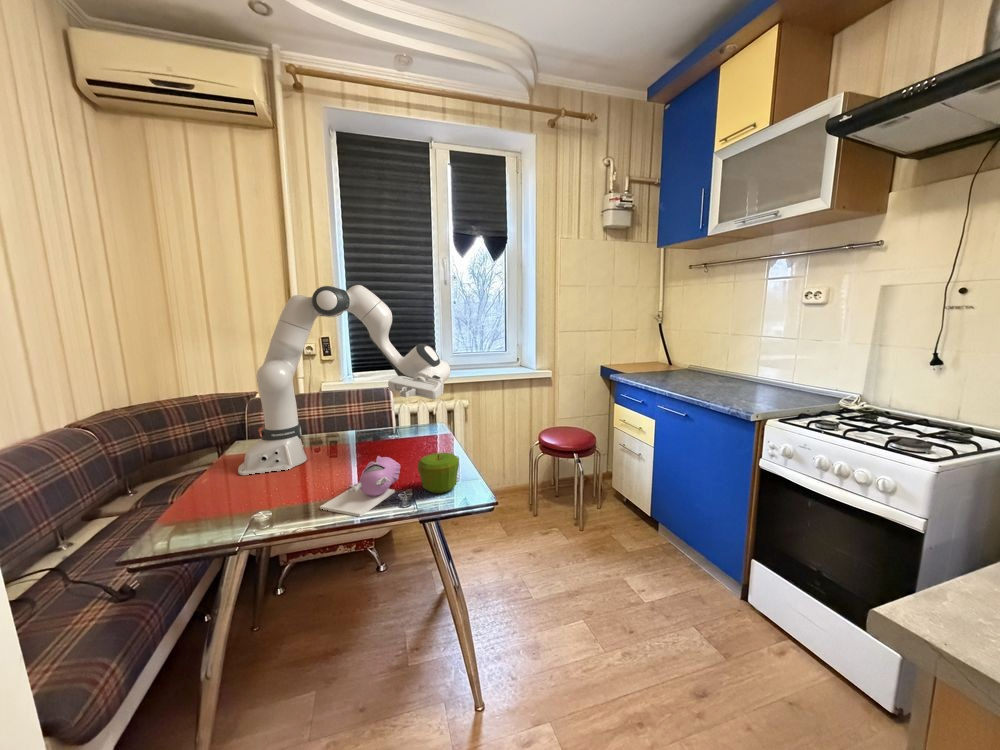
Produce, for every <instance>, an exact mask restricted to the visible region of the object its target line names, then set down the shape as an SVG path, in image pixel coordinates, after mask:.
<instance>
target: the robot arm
mask: <svg viewBox="0 0 1000 750" xmlns="http://www.w3.org/2000/svg"><path fill="white" fill-rule="evenodd" d="M344 312H349V313H351V314H352V315H354V316H355V317H356V318H357V319H359V321H360V322H362V324H363V325H364V326H365V328H366V329H367V331H368V333H369V334H368V335H369V337H368V338H369V340H371V343H372V344H373V345H374V346H375V348H376V349H377V350H378V352H379V353H380V354H381V355H382V356H383V357H384V358H385V360H386V361H387V362H388V363H389V365H390V366H391V367H392V369H393V370H394V372H395V373H396V375H397V376H394V377H393V378H390V379H388V382H387V383H388V385H387V386H388V389H389V390H390V391H394V392H398V394H399V397H401V398H409V397H414V396H416V397H421V398H423V399H424V398H425V399H430V400H437V399H438V398H440V397H441V396H442V395H444V388H445V387H444V386H445V385H444V383H445V382H446V381H447V380H448V379H449V377H450V375H451V367H450V365H449V364H448V363H447V362H446V360H445V361H444V360H443V359H440V356H439V355H438V353H437V351H436V350H435V349H434V348H433V347H432V346H430V345H429V344H426V343H419V344H417V345H416V346H415V347H413V348H412V349H411V350H410V351H409V352H408V353H407V354H406V355H405V356H402V354H400V352H399V351H398V350H397V349H396V347H395V346H394V345H393V344H392V343H391V341H390V338H389V335H390V334H389V333H390V330H391V326H392V324H393V314H392V310H391V309H390V308H389V306H388V305H387V303H385V302H384V301H382V299H380V297H378V296H377V295H376V294H375V293H374V292H372V291H371V290H369V289H368V288H367V287H365V286H363V285H362V284H356V285H353V286H350V287H349V288H348V289H347V290H345V289H341V288H338V287H335V286H330V285H323V286H320V287H318V288H317V289H316V290H315V291H314V292H313V294H312V296H305V295H301V294H296V295H292V296H291V297H290V298H289V299H288V301H287V302H286V304H285V305H284V307H283V309H282V311H281V314H280V316H279V317H278V321H277V324H276V326H275V328H274V331H273V334H272V336H271V339H270V342H269V346H268V350H267V353H266V355H265V358H264V361H263V364H262V365H261V366H260V367H259V368H258V370H257V373H256V383H257V387H258V393H259V398H260V402H261V407H262V414H263V421H264V427H263V426H262V427H260V428H258V434H259V440H258V441H256V442H255V443H254V444H253V445H252V446H250V448H248V449H247V451H246V452H245V455H244V461H243V462H242V463H241V464H240V465H239V466H238V469H237V473H238V475H240V476H250V475H249V474H252V475H256V474H255V473H260V474H266V473H265V472H269V473H272V472H271V471H277V472H282V471H281V470H285V471H288V469H289V470H291V469H292V468H294V467H296V466H299V465H301V464H303V463H305V462H306V461H307V460H308V456H307V455H306V453H305V452H306V451H305V450H304V446H303V443H302V428H301V424H300V423H299V415H298V405H297V401H296V393H295V389H294V388H295V387H294V380H293V379H294V376H295V374H296V371H297V368H298V365H299V363H300V361H301V357H302V355H303V352H304V350H305V347H306V344H307V342H308V339H309V335H310V334H311V331H312V328H313V326H314V323H315V321H316V319H317V318H318V317H326V318H335V317H339V316H341V315H342V314H343V313H344Z"/></svg>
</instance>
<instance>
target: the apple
mask: <svg viewBox="0 0 1000 750" xmlns="http://www.w3.org/2000/svg"><path fill="white" fill-rule="evenodd" d="M459 463H460V458H459V457H458V456H456V455H455V454H454V453H452V452H451V453H450V452H436V453H432V454H428V455H425V456H423V457H421V458H420V460H419V461H418V464H417V471H418V473H419V474H418V475H419V477H420V480H421V485H422V488H423V489H424V490H426V491H428V492H430V493H432V494H444V492H445V493H447V491H448V492H450V491H451V490H452V489H453V488H455V486H456V485H457V484H458V471H459V466H460V464H459Z"/></svg>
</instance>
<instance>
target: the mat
mask: <svg viewBox="0 0 1000 750" xmlns="http://www.w3.org/2000/svg"><path fill="white" fill-rule="evenodd" d="M350 489H353V487H350V488H349V489H347V490H346V491H349V490H350ZM346 491H344V492H342V493H340V494H339V495H337V496H335V497H334V498H332V499H330V500H328V501H326V502H325V503H323V504H322V505H320V506H319V509H320V510H322V509H323V511H327V510H328V512H333V513H338V514H344V515H348V516H355V517H362V516H363V515H365V514H366V513H368V512H370V510H372V509H374V508H375V507H376V506H377V505H379V504H380V503H382V502H383V501H384V500H386V499H387V498H389V497H390V496H391V495H393V494H395V493H396V490H395V489H392V488H389V489H388V490H387V491H386V492H384V493H383V494H381V495H378V496H369V495H366V494H365V493H363V492H362V490H361V489H360V488H359V489H358V490H357V492H351V493H350V494H348V493H347V492H346Z"/></svg>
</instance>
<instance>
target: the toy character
mask: <svg viewBox="0 0 1000 750" xmlns="http://www.w3.org/2000/svg"><path fill="white" fill-rule="evenodd" d="M400 470H401V464H400V463H399V462H397V461H396V460H395V459H393V458H391V457H389V456H388V457H387V456H382V457H381V456H380V455H377V457H376V459H375V461H374V460H373V461H369V462H368V463H367V465H366V466H365V468H364V469H363V470H362V472H361V476H360V477H359V481H358V482H357V483H356V484H349V487H350V488H352V487H353V489H350V488H349V489H350V490H349V489H348V490H349V491H347V490H346V492H347V493H348V494H350V493H351V492H357V490H358V489H359V488H360V489H361V490H362V492H363V493H365V494H366V495H369V496H378V495H381V494H383V493H384V492H386V491H387V490H388V489H390V487H391V486H392V485H393V484H394V483H395V482H397V481H398V480H399V476H400V473H401V471H400Z"/></svg>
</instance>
